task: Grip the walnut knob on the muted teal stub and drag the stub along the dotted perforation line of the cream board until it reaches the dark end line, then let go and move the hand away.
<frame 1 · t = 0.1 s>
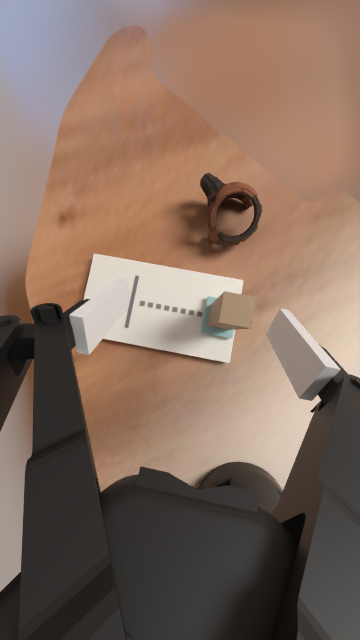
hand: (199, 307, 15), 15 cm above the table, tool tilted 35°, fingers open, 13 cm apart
stub: (226, 314, 24), point 7 cm above the table, slide at 0.0 cm
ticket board: (160, 307, 31), on the table
dark brown looped ring: (223, 220, 32), on the table
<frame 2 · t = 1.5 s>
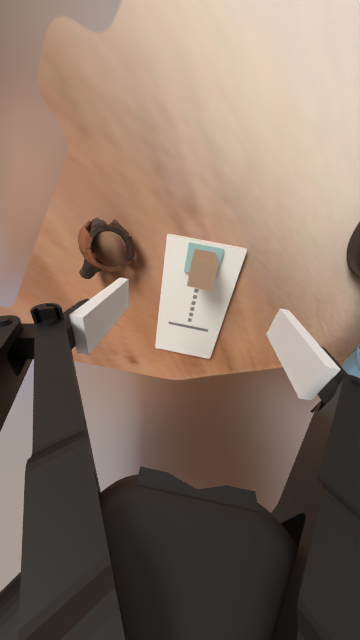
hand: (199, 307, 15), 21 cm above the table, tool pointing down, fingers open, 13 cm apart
stub: (202, 267, 27), point 7 cm above the table, slide at 0.0 cm
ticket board: (192, 304, 38), on the table
dark brown looped ring: (109, 247, 34), on the table
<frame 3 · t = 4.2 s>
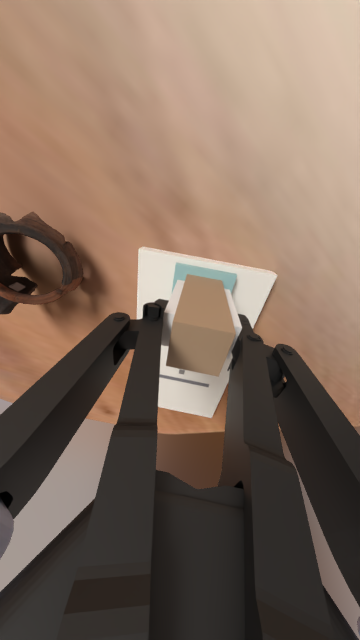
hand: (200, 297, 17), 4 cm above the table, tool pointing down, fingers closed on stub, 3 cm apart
stub: (199, 312, 15), point 7 cm above the table, slide at 0.0 cm, touching gripper
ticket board: (186, 349, 25), on the table
dark brown looped ring: (46, 260, 21), on the table
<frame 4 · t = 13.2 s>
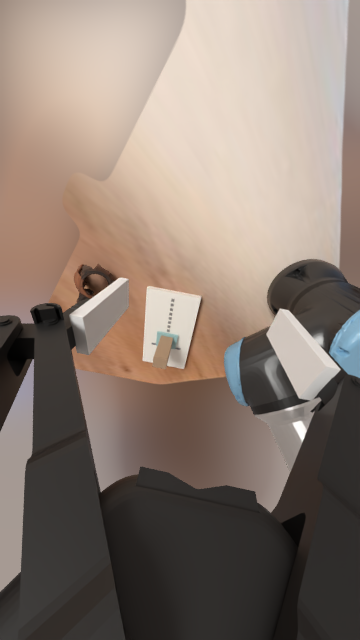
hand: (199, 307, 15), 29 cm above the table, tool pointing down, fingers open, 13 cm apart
stub: (163, 350, 48), point 7 cm above the table, slide at 12.0 cm
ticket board: (168, 330, 52), on the table
dark brown looped ring: (97, 280, 47), on the table
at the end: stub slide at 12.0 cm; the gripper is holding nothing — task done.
